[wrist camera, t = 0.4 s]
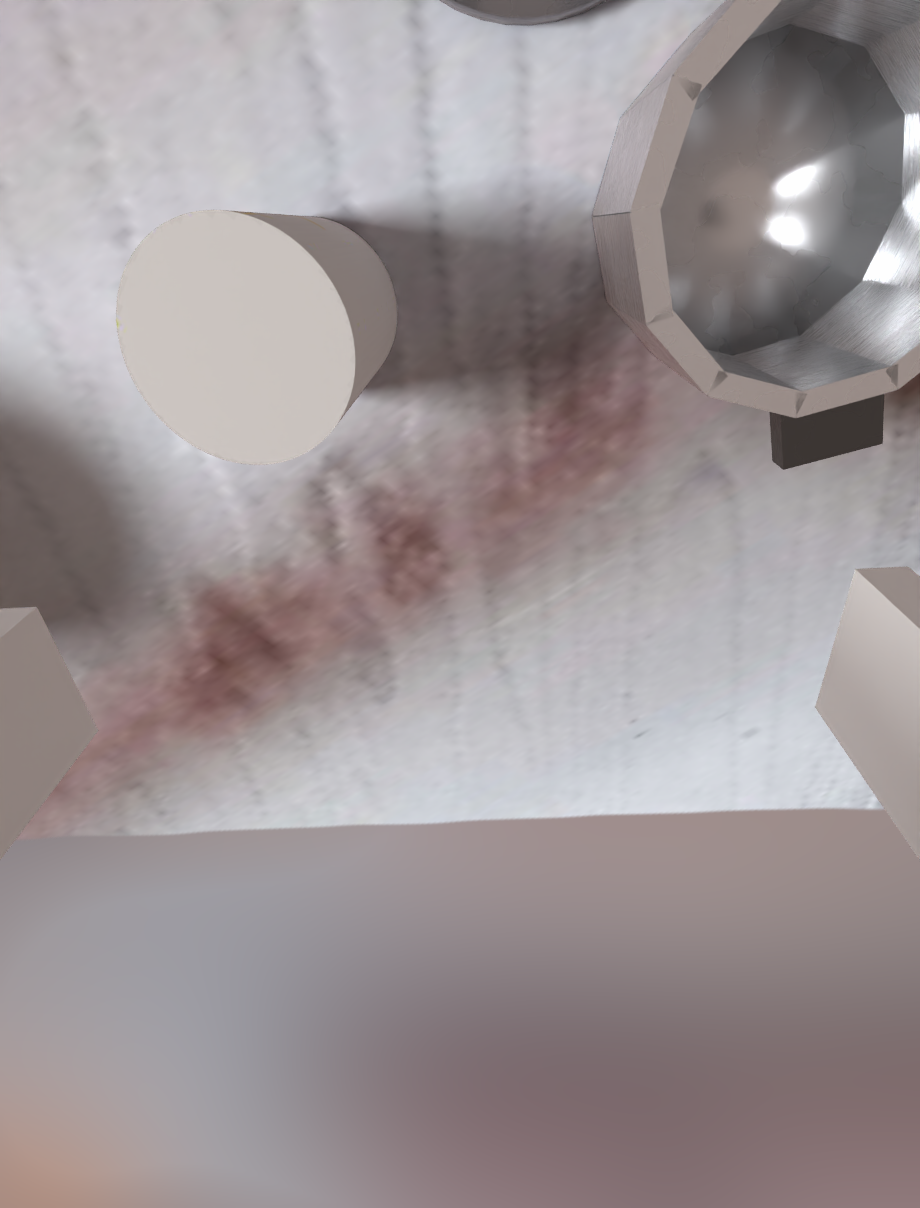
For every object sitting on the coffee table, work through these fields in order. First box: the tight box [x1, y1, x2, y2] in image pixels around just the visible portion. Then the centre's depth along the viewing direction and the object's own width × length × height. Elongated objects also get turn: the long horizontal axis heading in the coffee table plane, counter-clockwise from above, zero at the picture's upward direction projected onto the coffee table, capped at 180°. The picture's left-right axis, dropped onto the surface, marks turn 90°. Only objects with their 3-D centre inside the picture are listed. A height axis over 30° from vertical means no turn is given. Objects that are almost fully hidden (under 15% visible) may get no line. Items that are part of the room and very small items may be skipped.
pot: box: [592, 0, 920, 470], centre depth 25 cm, size 19×14×9 cm
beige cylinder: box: [116, 210, 398, 465], centre depth 27 cm, size 8×8×12 cm
